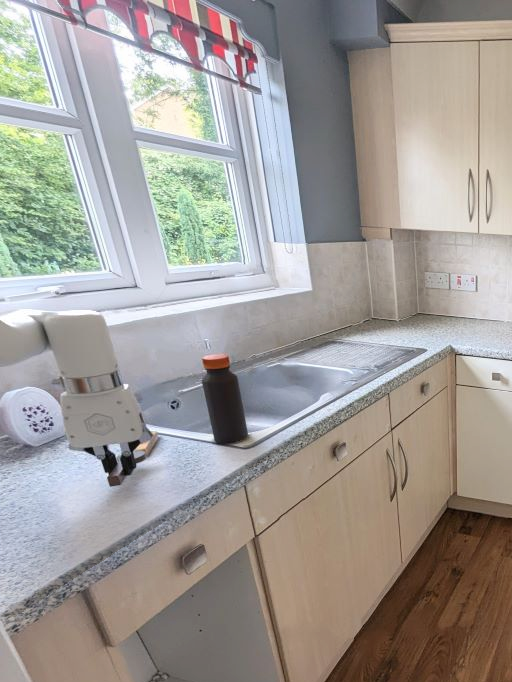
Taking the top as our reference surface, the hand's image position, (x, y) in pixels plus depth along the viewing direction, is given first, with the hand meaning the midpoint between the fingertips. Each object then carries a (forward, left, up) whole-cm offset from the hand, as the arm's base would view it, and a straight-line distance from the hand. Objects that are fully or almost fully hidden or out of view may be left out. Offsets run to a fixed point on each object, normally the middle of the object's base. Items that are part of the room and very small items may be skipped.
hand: (122, 473), depth 86 cm
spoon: (0, +2, 0) cm, 2 cm away
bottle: (+16, +16, -3) cm, 23 cm away
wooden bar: (0, +17, -2) cm, 17 cm away
